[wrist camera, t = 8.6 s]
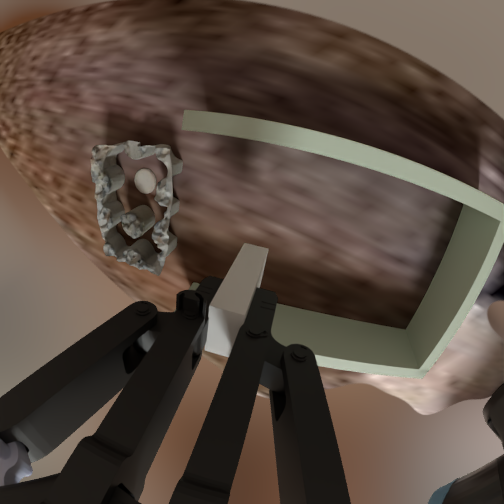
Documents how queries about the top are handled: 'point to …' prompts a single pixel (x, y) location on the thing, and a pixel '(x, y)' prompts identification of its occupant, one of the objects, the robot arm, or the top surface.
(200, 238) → the top surface
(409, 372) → the u-shaped frame
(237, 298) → the robot arm
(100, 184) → the egg carton
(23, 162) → the top surface
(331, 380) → the top surface
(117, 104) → the top surface
